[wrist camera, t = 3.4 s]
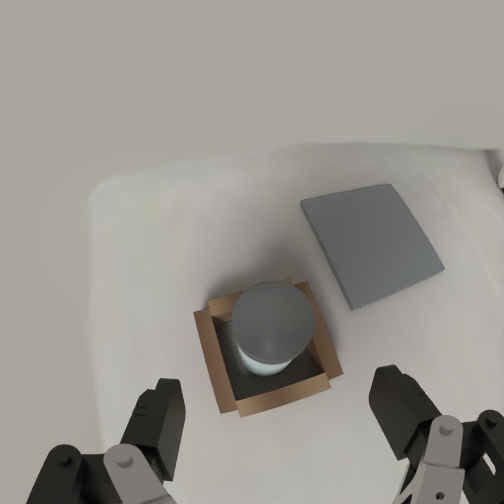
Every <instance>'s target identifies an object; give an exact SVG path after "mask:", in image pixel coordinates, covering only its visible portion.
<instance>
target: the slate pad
mask: <svg viewBox="0 0 504 504" xmlns="http://www.w3.org/2000/svg"><path fill="white" fill-rule="evenodd" d="M300 205H301V207H302V209H303V211H304V213H305V215H306V217H307V218H308V220H309V222H310V224H311V226H312V228H313V230H314V232H315V234H316V236H317V238H318V240H319V242H320V244H321V246H322V248H323V251H324V253H325V255H326V257H327V259H328V261H329V263H330V265H331V267H332V269H333V271H334V274H335V276H336V278H337V280H338V282H339V284H340V287H341V289H342V291H343V293H344V295H345V298H346V300H347V302H348V304H349V307H350V309H351V310H354V309H356V308H359V307H361V306H364V305H367V304H369V303H372V302H374V301H377V300H379V299H382V298H384V297H386V296H389V295H391V294H394V293H396V292H398V291H401V290H403V289H405V288H408V287H410V286H412V285H414V284H417V283H419V282H421V281H423V280H425V279H428V278H430V277H432V276H434V275H436V274H438V273H440V272H442V271H443V270H444V269H445V268H444V266H443V264H442V262H441V260H440V259H439V257H438V255H437V253H436V252H435V250H434V248H433V247H432V245H431V243H430V241H429V240H428V238H427V237H426V235H425V233H424V232H423V230H422V229H421V227H420V225H419V224H418V222H417V221H416V219H415V218H414V216H413V215H412V213H411V212H410V210H409V209H408V207H407V206H406V204H405V203H404V202H403V200H402V199H401V197H400V196H399V194H398V193H397V192H396V190H395V189H394V188H393V186H392V185H391V184H386V185H380V186H375V187H369V188H364V189H358V190H353V191H347V192H342V193H337V194H332V195H327V196H322V197H317V198H312V199H307V200H302V201H301V203H300Z"/></svg>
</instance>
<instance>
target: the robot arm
mask: <svg viewBox="0 0 504 504" xmlns="http://www.w3.org/2000/svg"><path fill="white" fill-rule="evenodd" d="M369 404H370V407H371V409H372V411H373V413H374V415H375V417H376V419H377V421H378V423H379V425H380V427H381V429H382V431H383V433H384V435H385V436H386V438H387V440H388V442H389V444H390V446H391V448H392V450H393V452H394V454H395V456H396V458H397V460H401V459H404V458H407V457H408V459H409V463H408V464H407V467H406V470H405V473H404V476H403V479H402V481H401V484H400V487H399V490H398V492H397V495H396V497H395V499H394V501H393V503H392V504H459V502H460V497H461V492H462V490H463V492H464V494H465V496H466V498H467V500H468V502H469V504H504V417H503V416H502V415H501V414H500V413H499V412H497V411H494V410H486V411H483V412H482V413H481V414H480V415H479V417H478V419H477V420H476V421H472V422H464V423H461V422H460V421H459V420H458V419H457V418H455V417H453V416H449V415H442V414H441V413H440V412H439V410H438V409H437V408H436V406H435V405H434V404H433V402H432V401H431V400H430V398H429V397H428V396H427V395H426V394H425V392H424V391H423V389H422V388H420V386H419V384H418V383H417V382H416V380H415V379H413V378H412V377H410V376H409V375H407V374H402V373H401V372H400V370H399V369H398V368H397V366H396V365H389V366H384V367H378V368H377V369H376V371H375V375H374V379H373V382H372V386H371V390H370V393H369ZM185 414H186V412H185V404H184V399H183V395H182V390H181V385H180V381H179V379H167V378H160V379H159V381H158V383H157V386H156V389H155V390H151V389H147V390H146V391H145V392H144V393H143V394H142V395H141V396H140V397H139V399H138V401H137V403H136V406H135V408H134V410H133V413H132V415H131V417H130V420H129V422H128V425H127V427H126V430H125V432H124V435H123V437H122V439H121V442H120V444H118V445H115V446H113V447H111V448H109V449H108V450H107V451H106V453H105V454H91V455H89V454H81V453H80V452H79V450H78V449H77V448H75V447H74V446H71V445H66V444H63V445H58V446H56V447H54V448H53V449H52V450H51V451H50V452H49V454H48V456H47V458H46V460H45V462H44V464H43V466H42V468H41V471H40V473H39V475H38V477H37V479H36V482H35V484H34V486H33V488H32V491H31V493H30V495H29V498H28V500H27V503H26V504H177V503H176V502H175V501H174V499H173V498H172V497H171V496H170V495H169V494H168V492H167V491H166V490H165V488H164V487H163V482H164V480H165V481H172V482H173V477H174V472H175V467H176V462H177V457H178V451H179V447H180V442H181V437H182V432H183V427H184V422H185ZM485 453H487V455H488V456H489V458H490V460H491V461H492V463H493V464H494V466H495V469H496V472H495V475H493V473H492V471H491V470H490V468H489V466H488V465H487V463H486V462H485V460H484V458H483V456H484V455H485Z"/></svg>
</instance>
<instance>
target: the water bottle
mask: <svg viewBox="0 0 504 504" xmlns="http://www.w3.org/2000/svg"><path fill="white" fill-rule="evenodd" d="M498 185H499V187H500V188H501V189H502V188H504V165H503V166H502V168H501V170H500V173H499V176H498Z"/></svg>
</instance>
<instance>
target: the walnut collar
mask: <svg viewBox="0 0 504 504" xmlns="http://www.w3.org/2000/svg"><path fill="white" fill-rule="evenodd" d="M280 282H284V283H288V284H290V285H292V284H291V281H290V279H287V280H283V281H280ZM293 286H294V287H296V288H298V289H299V290H301V291H302V292H303V293H304V294H305V295H306V296H307V297H308V299H309V300H310V302H311V304H312V306H313V308H314V311H315V316H316V327H315V331H314V334H313V337H312V339H311V341H310V342H309V344H308V345H307V346H306V347H307V350H308V352H309V355H310V358H311V360H312V363H313V366H314V369H315V371H316V374H317V376H315V377H312V378H309V379H306V380H304V381H301V382H298V383H295V384H292V385H289V386H286V387H283V388H280V389H277V390H273V391H270V392H267V393H264V394H260V395H257V396H253V397H250V398H246V399H242V400H239V401H237V400H236V397H235V393H234V390H233V387H232V384H231V380H230V377H229V374H228V370H227V367H226V363H225V360H224V356H223V353H222V349H221V346H220V342H219V338H218V335H217V331H216V327H215V325H219V324H223V323H227V322H231V321H232V313H233V309H234V306H235V304H236V302H237V300H238V299H239V297H240V296H241V295H242V294H243V293H244V292H245V291H243V292H240V293H236V294H232V295H228V296H224V297H221V298H217V299H213V300H209V301H207V302H208V305H209V308H208V309H204V310H200V311H196V312H193V313H194V317H195V321H196V325H197V330H198V334H199V338H200V342H201V346H202V350H203V354H204V357H205V361H206V365H207V369H208V372H209V376H210V380H211V383H212V387H213V390H214V394H215V397H216V401H217V404H218V407H219V411H220V414H222V413H226V412H230V411H234V410H238V411H239V414H240V417H245V416H249V415H252V414H256V413H259V412H263V411H266V410H270V409H273V408H276V407H279V406H282V405H285V404H288V403H291V402H294V401H297V400H300V399H303V398H306V397H308V396H311V395H314V394H316V393H319V392H322V391H324V390H327V389H329V388H331V386H330V383H329V381H328V380H330V379H332V378H335V377H337V376H340V375H342V374H344V373H343V371H342V368H341V366H340V363H339V360H338V358H337V355H336V353H335V350H334V347H333V345H332V342H331V340H330V337H329V335H328V332H327V330H326V327H325V325H324V322H323V320H322V317H321V315H320V312H319V310H318V307H317V305H316V303H315V300H314V298H313V295H312V293H311V290H310V288H309V286H308V283H307V281H306V282H303V283H299V284H296V285H293Z"/></svg>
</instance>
